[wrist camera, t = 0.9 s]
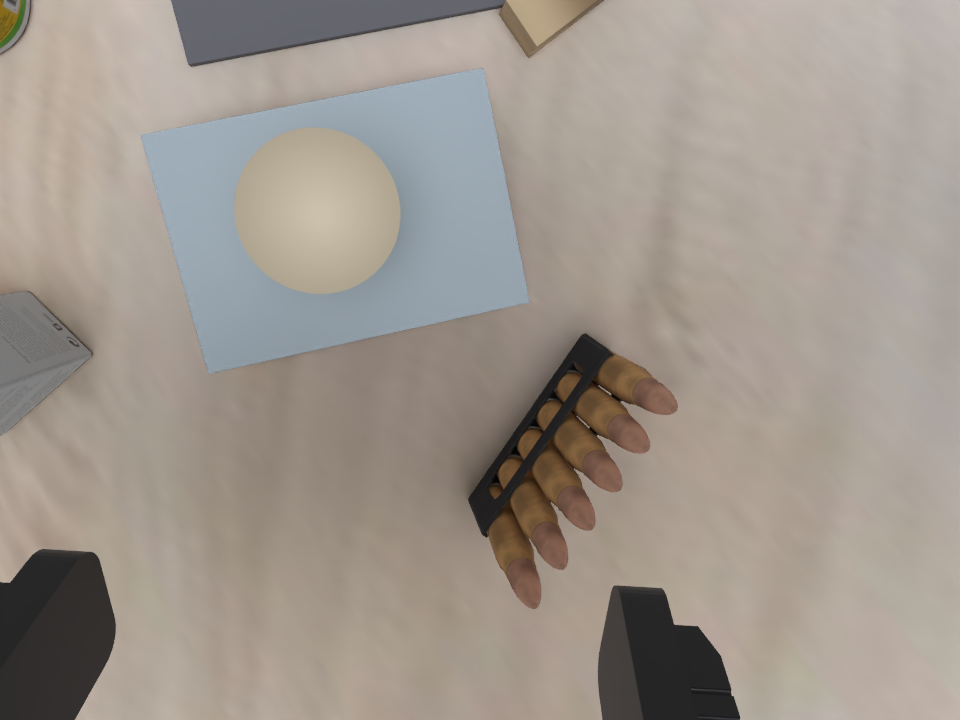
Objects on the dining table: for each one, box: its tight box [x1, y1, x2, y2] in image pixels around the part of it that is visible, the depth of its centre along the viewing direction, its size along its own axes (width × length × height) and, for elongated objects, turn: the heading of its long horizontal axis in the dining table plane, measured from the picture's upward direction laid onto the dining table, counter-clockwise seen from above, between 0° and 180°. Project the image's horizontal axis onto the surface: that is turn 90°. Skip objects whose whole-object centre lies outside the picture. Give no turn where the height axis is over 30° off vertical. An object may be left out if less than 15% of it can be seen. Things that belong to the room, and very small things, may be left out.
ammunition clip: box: [468, 334, 678, 609], centre depth 32 cm, size 11×2×12 cm, turn 145°
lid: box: [141, 68, 530, 374], centre depth 25 cm, size 14×10×11 cm
